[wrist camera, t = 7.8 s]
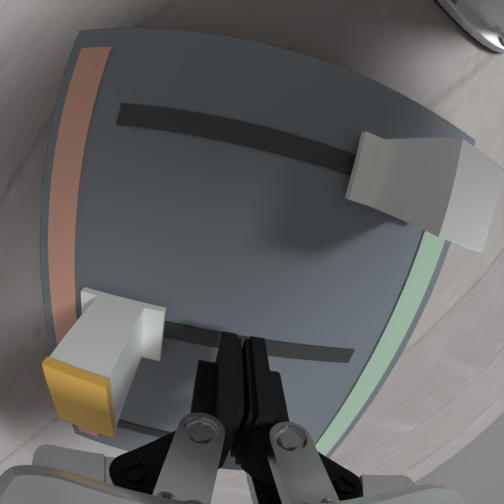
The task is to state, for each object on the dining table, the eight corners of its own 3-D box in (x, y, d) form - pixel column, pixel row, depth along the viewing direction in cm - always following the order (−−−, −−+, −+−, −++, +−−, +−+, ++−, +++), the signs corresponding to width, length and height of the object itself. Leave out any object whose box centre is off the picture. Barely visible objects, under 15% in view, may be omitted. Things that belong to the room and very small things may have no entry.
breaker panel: (442, 139, 13) (476, 140, 10) (311, 444, 21) (318, 470, 18) (103, 49, 11) (78, 30, 8) (86, 408, 18) (75, 434, 15)
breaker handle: (433, 165, 10) (515, 179, 6) (418, 223, 11) (494, 259, 7) (361, 131, 10) (440, 123, 5) (344, 197, 11) (415, 228, 6)
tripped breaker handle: (166, 306, 12) (133, 395, 7) (161, 356, 13) (137, 444, 8) (84, 286, 11) (21, 354, 6) (87, 336, 12) (41, 409, 7)
